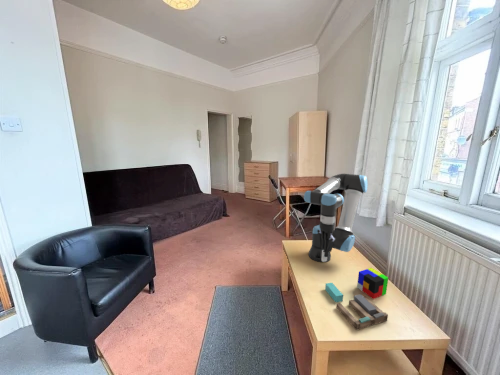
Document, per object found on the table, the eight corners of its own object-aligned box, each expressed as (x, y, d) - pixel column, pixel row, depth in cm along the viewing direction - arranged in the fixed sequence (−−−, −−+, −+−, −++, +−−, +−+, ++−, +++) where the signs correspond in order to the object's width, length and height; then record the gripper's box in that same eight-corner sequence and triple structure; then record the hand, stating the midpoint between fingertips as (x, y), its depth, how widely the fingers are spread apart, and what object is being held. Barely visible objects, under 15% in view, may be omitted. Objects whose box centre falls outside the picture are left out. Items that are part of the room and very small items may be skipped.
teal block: (325, 289, 116) (325, 283, 115) (331, 288, 117) (332, 282, 116) (335, 302, 106) (336, 296, 106) (342, 301, 107) (343, 295, 106)
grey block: (353, 302, 107) (354, 295, 106) (360, 301, 108) (360, 294, 107) (368, 317, 97) (369, 310, 96) (375, 316, 98) (376, 309, 97)
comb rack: (336, 308, 103) (336, 301, 102) (364, 300, 108) (365, 294, 107) (356, 330, 90) (357, 323, 90) (387, 320, 95) (388, 313, 95)
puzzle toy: (356, 287, 118) (358, 271, 116) (369, 282, 122) (371, 267, 120) (373, 299, 109) (375, 282, 107) (385, 293, 113) (388, 277, 111)
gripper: (314, 218, 119) (311, 256, 124) (329, 227, 107) (326, 268, 112) (325, 217, 121) (322, 254, 126) (341, 225, 109) (337, 265, 114)
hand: (324, 260), depth 119 cm, fingers closed
